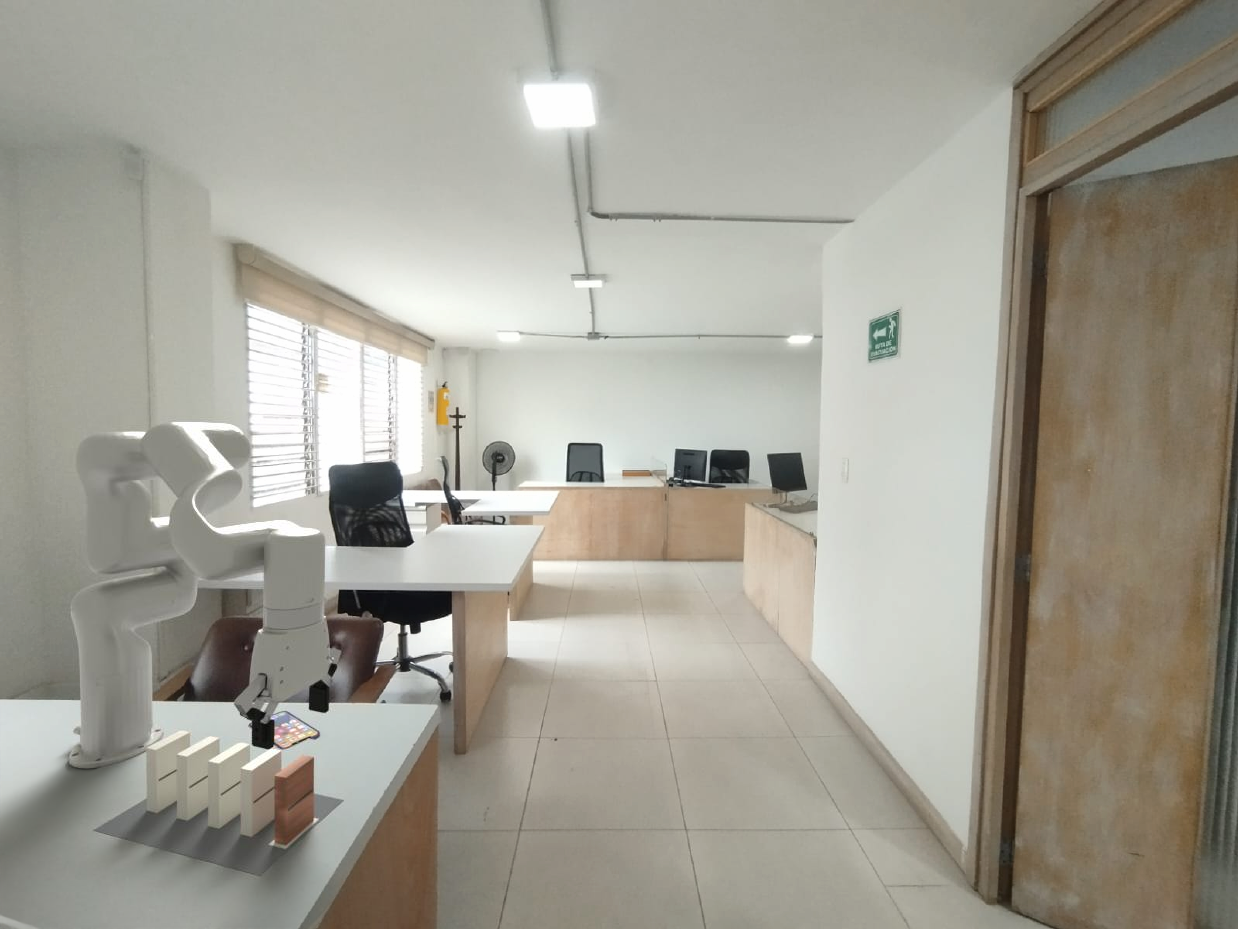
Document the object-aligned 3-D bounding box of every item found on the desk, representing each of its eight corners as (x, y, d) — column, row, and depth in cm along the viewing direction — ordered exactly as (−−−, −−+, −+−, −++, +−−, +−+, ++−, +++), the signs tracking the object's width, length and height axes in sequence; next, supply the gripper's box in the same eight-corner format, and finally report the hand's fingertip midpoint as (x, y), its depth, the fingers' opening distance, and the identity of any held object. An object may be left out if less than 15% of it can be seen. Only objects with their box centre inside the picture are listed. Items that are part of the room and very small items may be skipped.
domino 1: (146, 810, 80) (145, 747, 80) (180, 789, 85) (180, 730, 84) (157, 813, 80) (156, 750, 79) (190, 791, 84) (190, 732, 84)
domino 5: (274, 842, 75) (274, 775, 74) (302, 818, 79) (302, 754, 79) (286, 845, 74) (286, 778, 74) (314, 820, 79) (314, 757, 78)
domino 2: (176, 818, 79) (176, 754, 78) (209, 796, 84) (209, 736, 83) (187, 821, 78) (187, 756, 78) (220, 798, 83) (219, 738, 83)
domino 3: (208, 826, 77) (207, 761, 77) (239, 803, 82) (239, 742, 82) (219, 829, 77) (218, 763, 76) (250, 806, 82) (250, 744, 81)
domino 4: (240, 834, 76) (240, 768, 75) (270, 810, 81) (270, 748, 80) (252, 837, 75) (251, 770, 75) (281, 813, 80) (281, 750, 80)
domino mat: (93, 833, 76) (93, 830, 76) (197, 770, 90) (197, 767, 90) (260, 879, 69) (259, 875, 69) (343, 803, 84) (343, 800, 84)
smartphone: (285, 713, 110) (322, 737, 102) (245, 728, 104) (281, 755, 96) (285, 709, 110) (322, 733, 102) (245, 724, 104) (282, 750, 96)
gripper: (319, 593, 84) (317, 695, 85) (215, 631, 68) (214, 758, 69) (359, 599, 83) (356, 703, 84) (261, 639, 66) (260, 769, 67)
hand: (292, 727), depth 76 cm, fingers open, 9 cm apart
